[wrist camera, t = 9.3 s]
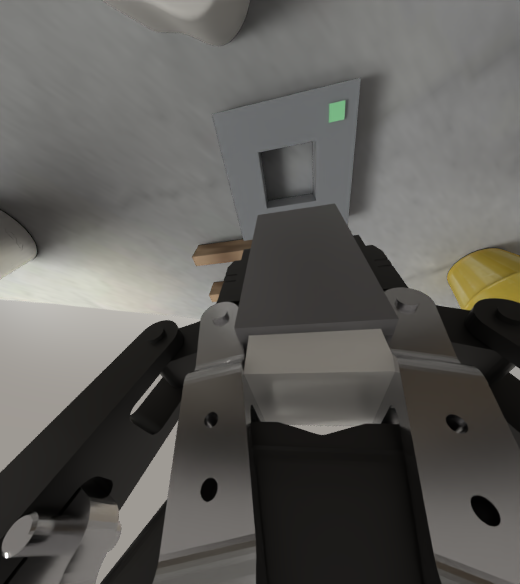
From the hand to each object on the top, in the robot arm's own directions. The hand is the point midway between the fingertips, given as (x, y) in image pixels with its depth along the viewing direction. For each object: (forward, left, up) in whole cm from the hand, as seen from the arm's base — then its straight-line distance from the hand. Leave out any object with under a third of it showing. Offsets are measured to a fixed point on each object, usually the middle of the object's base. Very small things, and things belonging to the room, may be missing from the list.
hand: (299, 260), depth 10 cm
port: (0, 0, -17) cm, 17 cm away
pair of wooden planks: (-9, -11, -17) cm, 22 cm away
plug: (0, 0, -2) cm, 2 cm away
